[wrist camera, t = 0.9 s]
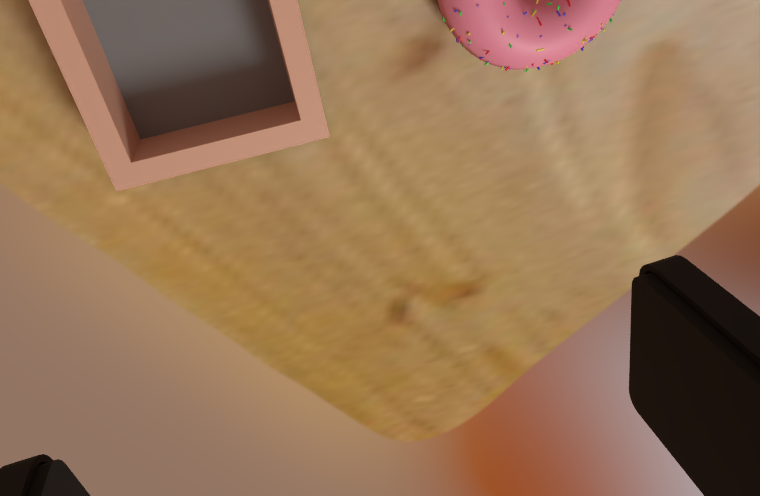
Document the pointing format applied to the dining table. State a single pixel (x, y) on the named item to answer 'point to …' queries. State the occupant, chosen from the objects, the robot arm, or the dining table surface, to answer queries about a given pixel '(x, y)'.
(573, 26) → the doughnut
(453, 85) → the dining table surface
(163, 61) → the socket stand
